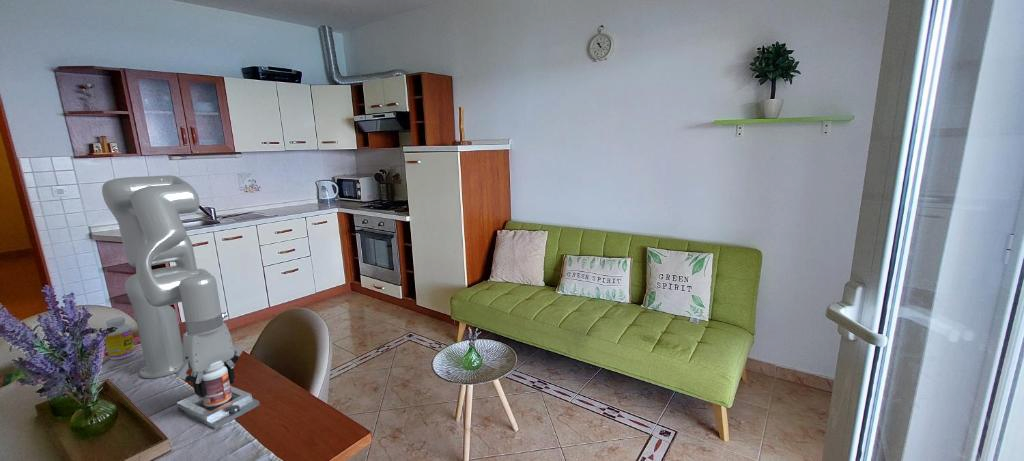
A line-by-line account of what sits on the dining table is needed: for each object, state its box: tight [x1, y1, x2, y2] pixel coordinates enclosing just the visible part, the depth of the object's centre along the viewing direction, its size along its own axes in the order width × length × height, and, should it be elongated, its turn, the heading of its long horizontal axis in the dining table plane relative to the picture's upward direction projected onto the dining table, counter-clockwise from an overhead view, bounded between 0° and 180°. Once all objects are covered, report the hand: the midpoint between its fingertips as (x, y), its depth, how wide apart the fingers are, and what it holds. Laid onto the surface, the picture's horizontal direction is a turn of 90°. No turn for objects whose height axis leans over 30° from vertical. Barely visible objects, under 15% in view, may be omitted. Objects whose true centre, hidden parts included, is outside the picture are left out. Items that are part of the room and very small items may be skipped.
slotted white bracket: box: [176, 385, 260, 430], centre depth 112 cm, size 17×11×3 cm, turn 62°
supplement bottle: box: [105, 316, 136, 361], centre depth 142 cm, size 7×7×13 cm
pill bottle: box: [201, 361, 232, 408], centre depth 111 cm, size 6×6×11 cm
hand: (215, 388), depth 111 cm, fingers closed on pill bottle, 6 cm apart
